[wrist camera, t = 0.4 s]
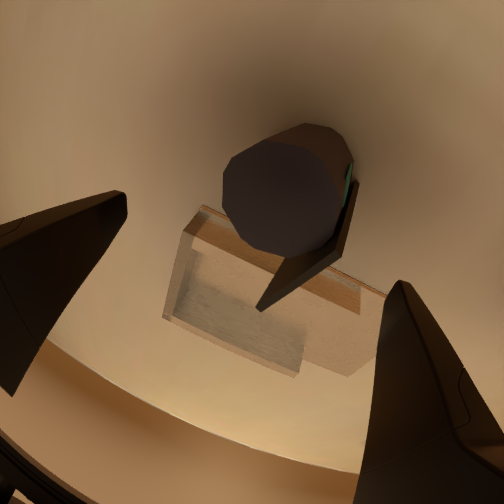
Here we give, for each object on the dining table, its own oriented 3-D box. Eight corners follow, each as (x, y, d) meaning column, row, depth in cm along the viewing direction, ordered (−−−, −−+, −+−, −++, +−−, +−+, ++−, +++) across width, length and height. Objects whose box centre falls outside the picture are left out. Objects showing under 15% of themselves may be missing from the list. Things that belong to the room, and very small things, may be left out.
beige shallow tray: (420, 313, 25) (424, 342, 22) (348, 373, 33) (345, 398, 30) (202, 205, 25) (183, 227, 22) (175, 296, 33) (161, 319, 30)
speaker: (377, 204, 20) (373, 297, 12) (306, 227, 23) (261, 319, 15) (332, 105, 18) (297, 124, 10) (260, 138, 21) (180, 185, 13)
